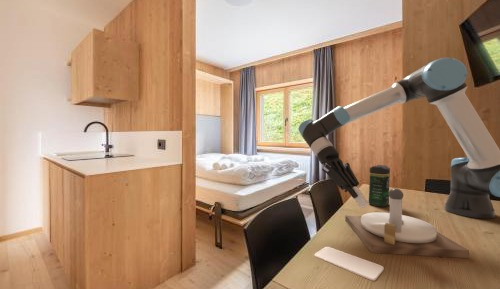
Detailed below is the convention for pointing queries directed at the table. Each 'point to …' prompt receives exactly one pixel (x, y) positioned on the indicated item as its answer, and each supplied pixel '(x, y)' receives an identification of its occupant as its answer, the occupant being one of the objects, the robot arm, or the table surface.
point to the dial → (399, 222)
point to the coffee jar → (379, 185)
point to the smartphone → (350, 263)
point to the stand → (389, 245)
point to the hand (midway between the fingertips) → (364, 205)
